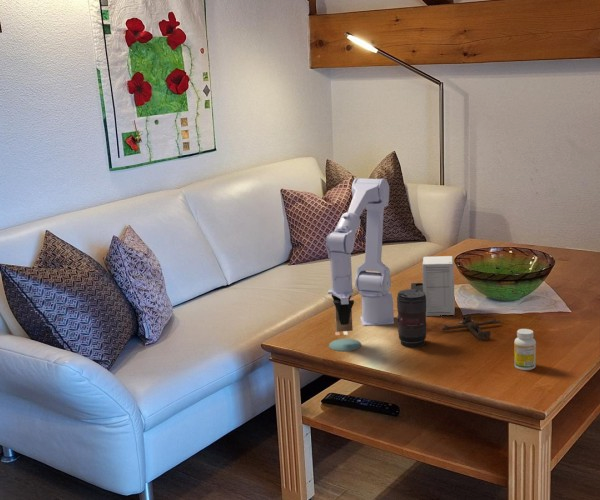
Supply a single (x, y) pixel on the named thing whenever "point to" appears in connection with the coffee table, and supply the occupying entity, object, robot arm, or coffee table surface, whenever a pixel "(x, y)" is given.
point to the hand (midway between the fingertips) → (343, 321)
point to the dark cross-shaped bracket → (473, 327)
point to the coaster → (344, 345)
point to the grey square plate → (343, 332)
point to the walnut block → (338, 325)
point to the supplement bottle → (525, 350)
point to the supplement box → (439, 285)
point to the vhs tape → (417, 286)
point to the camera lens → (411, 317)
